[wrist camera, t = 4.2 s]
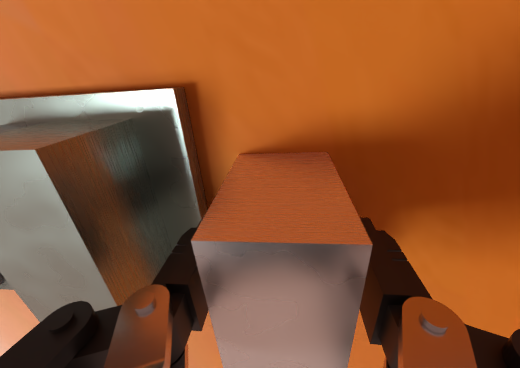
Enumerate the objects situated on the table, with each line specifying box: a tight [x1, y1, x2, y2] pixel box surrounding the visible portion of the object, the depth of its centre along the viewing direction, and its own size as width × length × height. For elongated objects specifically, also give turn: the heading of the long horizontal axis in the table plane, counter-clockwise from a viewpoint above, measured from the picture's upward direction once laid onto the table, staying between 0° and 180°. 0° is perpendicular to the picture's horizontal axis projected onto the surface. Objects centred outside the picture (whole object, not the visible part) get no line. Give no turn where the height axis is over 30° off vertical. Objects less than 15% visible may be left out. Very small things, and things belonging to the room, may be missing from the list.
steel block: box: [191, 152, 373, 368], centre depth 9 cm, size 4×6×6 cm, turn 4°
